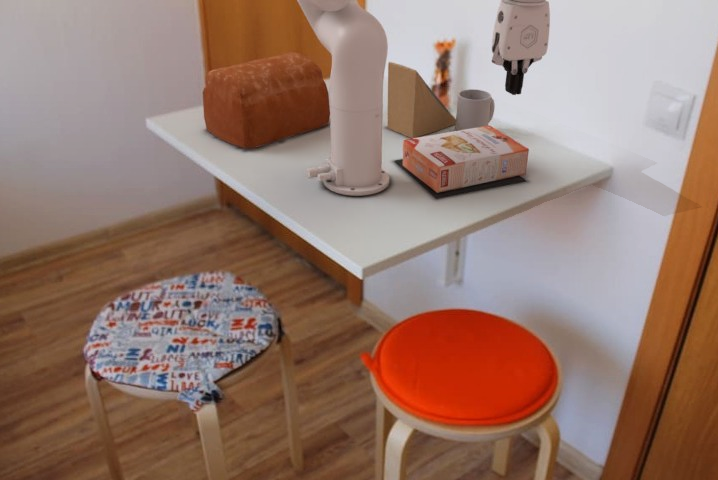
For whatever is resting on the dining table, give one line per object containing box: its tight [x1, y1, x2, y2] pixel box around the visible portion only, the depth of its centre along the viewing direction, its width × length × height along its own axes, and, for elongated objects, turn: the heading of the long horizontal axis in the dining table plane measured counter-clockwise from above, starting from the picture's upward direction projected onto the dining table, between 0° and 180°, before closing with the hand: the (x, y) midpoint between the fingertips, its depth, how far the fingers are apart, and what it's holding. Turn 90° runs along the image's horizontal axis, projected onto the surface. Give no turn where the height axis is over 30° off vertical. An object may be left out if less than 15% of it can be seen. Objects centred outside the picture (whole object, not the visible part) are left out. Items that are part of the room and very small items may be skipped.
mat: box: [394, 158, 527, 199], centre depth 144 cm, size 20×18×1 cm
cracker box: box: [402, 124, 530, 193], centre depth 142 cm, size 14×6×21 cm
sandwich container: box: [387, 61, 456, 139], centre depth 161 cm, size 9×15×15 cm, turn 135°
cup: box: [454, 88, 495, 131], centre depth 160 cm, size 7×10×9 cm
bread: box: [202, 51, 330, 149], centre depth 156 cm, size 17×24×15 cm
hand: (512, 92), depth 140 cm, fingers closed
